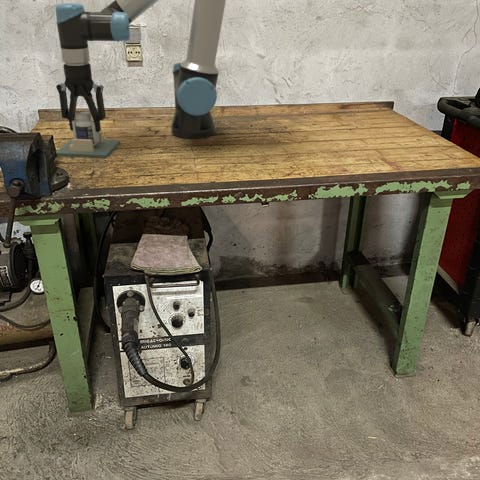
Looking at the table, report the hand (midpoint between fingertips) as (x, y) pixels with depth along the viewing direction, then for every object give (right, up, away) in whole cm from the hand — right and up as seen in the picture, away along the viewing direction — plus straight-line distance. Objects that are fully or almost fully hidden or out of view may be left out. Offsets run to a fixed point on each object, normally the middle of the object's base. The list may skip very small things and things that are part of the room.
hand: (87, 141), depth 154 cm
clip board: (0, -2, +1) cm, 3 cm away
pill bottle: (0, -1, +1) cm, 1 cm away
